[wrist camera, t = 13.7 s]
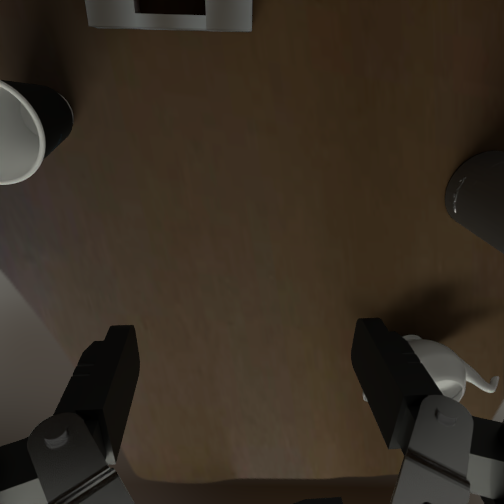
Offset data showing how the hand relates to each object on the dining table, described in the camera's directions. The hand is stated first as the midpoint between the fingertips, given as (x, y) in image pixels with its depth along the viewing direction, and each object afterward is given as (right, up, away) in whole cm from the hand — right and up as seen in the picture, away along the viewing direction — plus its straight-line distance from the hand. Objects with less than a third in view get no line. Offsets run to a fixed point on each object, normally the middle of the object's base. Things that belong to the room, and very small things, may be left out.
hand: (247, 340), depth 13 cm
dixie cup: (-20, +17, +24) cm, 35 cm away
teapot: (+23, -11, +42) cm, 49 cm away
